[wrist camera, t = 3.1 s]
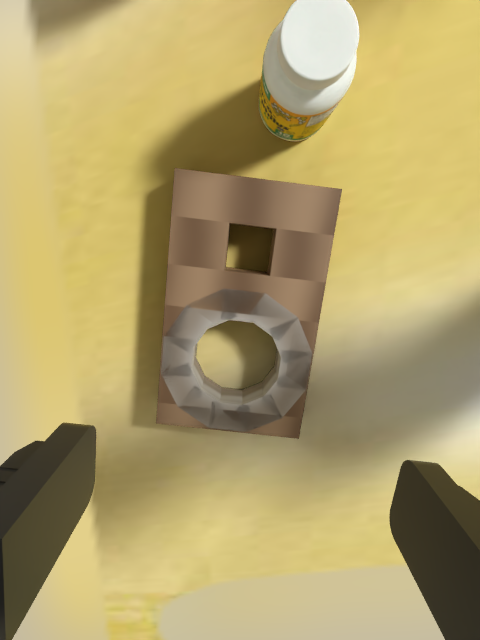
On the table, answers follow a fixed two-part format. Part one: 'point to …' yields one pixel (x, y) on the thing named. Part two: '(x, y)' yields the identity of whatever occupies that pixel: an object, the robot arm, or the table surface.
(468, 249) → the table surface
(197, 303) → the bore block
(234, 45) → the table surface
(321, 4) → the supplement bottle
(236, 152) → the table surface
